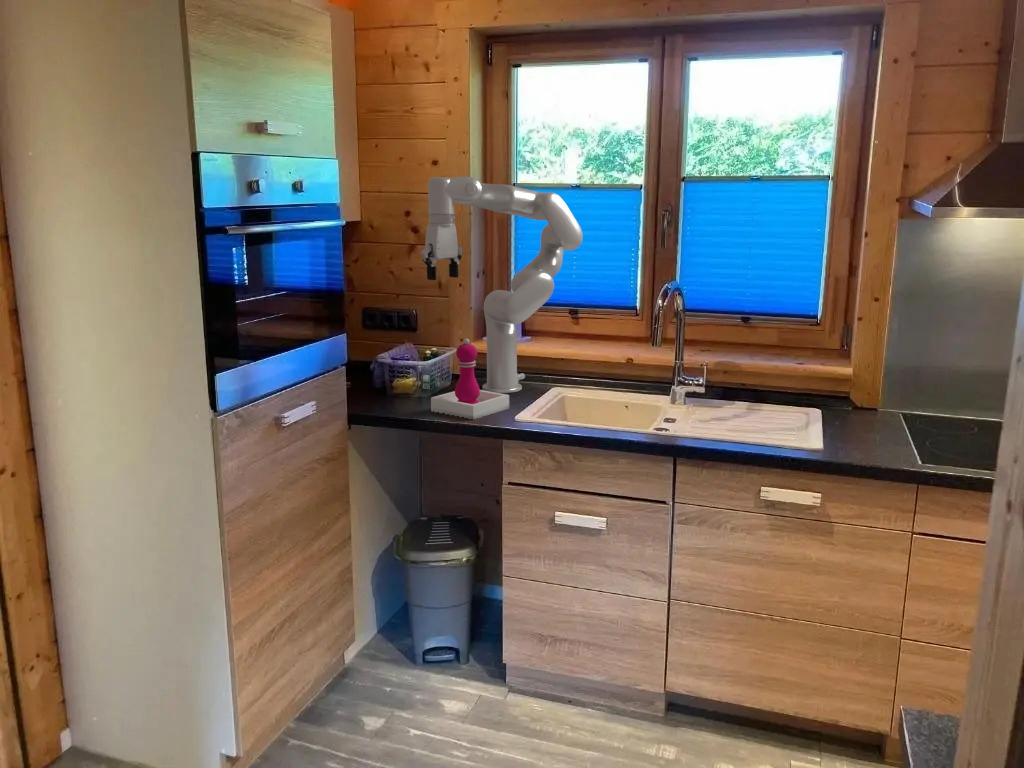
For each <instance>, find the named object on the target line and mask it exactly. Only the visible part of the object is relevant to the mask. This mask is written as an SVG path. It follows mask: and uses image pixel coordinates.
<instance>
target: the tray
mask: <svg viewBox="0 0 1024 768" xmlns="http://www.w3.org/2000/svg"><path fill="white" fill-rule="evenodd" d="M458 400H459V399H458V398H457V397H456V396H455V390H453V391H450V392H447V393H443V394H439V395H436V396H432V397H430V411H431V412H433V411H434V413H437V412H439V414H442V413H445V414H444V415H447V414H450V415H449V416H452V415H454V416H453V417H457V416H459V417H458V418H462V417H464V418H463V419H466V418H468V419H467V420H471V419H473V420H472V421H474V419H475V420H478V419H480V418H484V417H487V416H490V414H491V415H493V414H496V413H499V412H503V411H506V410H509V409H510V395H509V394H507V393H495V392H489V391H484V390H483V389H480V395H479V396H478V398H477V399H476V400H478V403H476V404H468V403H463V402H457V401H458ZM483 416H484V417H483ZM477 418H478V419H477Z"/></svg>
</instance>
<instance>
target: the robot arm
mask: <svg viewBox="0 0 1024 768" xmlns="http://www.w3.org/2000/svg"><path fill="white" fill-rule="evenodd" d="M427 197H428V199H427V200H428V225H426V230H425V231H426V232H425V239H424V242H425V243H424V248H423V249H422V250H421V251H420V254H421V255H420V256H421V258H422V261H423V263H424V265H425V267H426V277H427V278H426V279H427V280H429V281H436V280H437V266H435V265H436V263H437V261H438V260H448V261H449V264H448V270H449V271H448V275H449V276H448V277H450V278H456V279H457V278H459V265H460V263H461V262H460V261H461V259H462V254H463V252H464V248H462V247H461V246H459V244H458V234H457V233H458V232H457V228H456V224H455V219H456V218H455V204H460V205H464V206H470V207H474V208H479V209H485V210H488V211H492V212H496V213H503V214H507V215H512V216H515V217H516V216H518V217H522V218H524V219H525V218H526V219H531V220H535V221H546V222H547V223H548V224H546V225H545V226H544V227H543V228H542V230H541V233H540V249H539V251H538V254H537V255H536V256H535V257H534V258H533V259H532V260H531V261H530V262H529V263H528V264H526V265H525V266H524V267H523V268H522V269H520V270H519V271H518V272H517V273H515V274H514V276H513V278H512V279H511V282H510V288H511V291H509V290H505V289H504V290H503V289H496V290H492V291H491V292H490V293H488V294H487V295H486V297H485V300H484V301H483V302H484V303H483V312H484V313H483V314H484V319H485V320H484V321H485V326H486V382H485V383H484V384H482V386H481V387H482V388H481V390H483V391H489V392H495V393H500V394H510V393H517V392H520V391H522V390H523V388H522V384H521V383H519V381H520V380H524V379H525V378H526V375H525V373H523V372H522V373H518V358H517V357H518V347H517V346H518V333H517V327H516V325H518V324H521V323H523V322H524V321H526V320H528V319H529V318H530V317H531V316H532V315H533V314H534V313H536V312H537V311H538V310H539V309H540V308H541V307H543V305H544V304H546V302H548V301H549V300H550V298H551V297H552V295H553V292H554V289H555V282H554V279H553V278H555V276H557V274H558V273H559V271H560V270H561V268H562V265H563V264H562V263H563V259H564V258H563V257H564V251H574V250H576V249H578V248H579V247H580V246H581V244H582V242H583V237H584V236H583V235H584V234H583V231H582V228H581V226H580V225H579V223H578V221H577V219H576V218H575V216H574V214H573V213H572V211H571V210H570V208H569V206H568V205H567V203H566V202H565V201H564V200H563V199H564V198H562V197H561V196H560V195H559V194H558V193H555V192H540V191H536V190H531V189H527V188H522V187H519V186H514V185H511V184H503V183H502V184H501V183H498V184H497V183H496V184H495V183H483V182H480V180H478V179H477V178H476V177H473V176H454V177H447V176H445V177H444V176H440V177H439V176H433V177H430V178H429V179H428V181H427Z"/></svg>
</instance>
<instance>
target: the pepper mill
mask: <svg viewBox="0 0 1024 768" xmlns="http://www.w3.org/2000/svg"><path fill="white" fill-rule="evenodd" d="M455 353H456V354H455V355H456V356H455V357H457V359H458V361H457V362H458V363H457V364H458V365H457V366H458V367H459V378H458V380H457V383H456V386H455V389H454V391H455V396H456V397H457V398H458V399H459V400H458V401H457V402H463V403H468V404H476V403H478V400H476V399H477V398H478V396H479V395H480V390H481V389H480V385H479V383H478V381H477V379H476V375H475V367H476V365H477V364H476V360H475V359H476V358H477V357H478V349H477V348H476V346H475V345H474V344H471V343H470V339H469V338H464V339H463V344H461V345H459V346H458V347H457V349H456V352H455Z"/></svg>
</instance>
